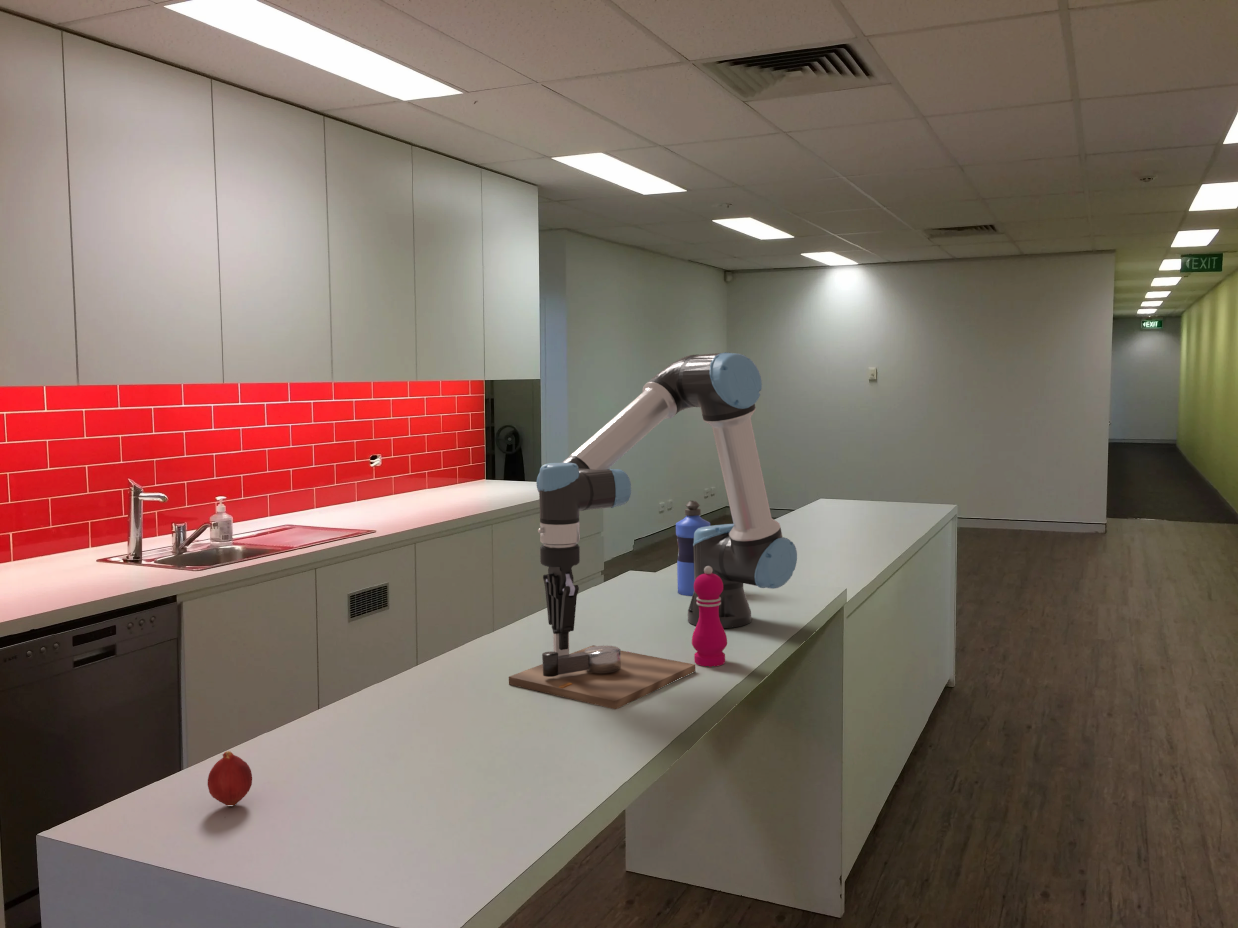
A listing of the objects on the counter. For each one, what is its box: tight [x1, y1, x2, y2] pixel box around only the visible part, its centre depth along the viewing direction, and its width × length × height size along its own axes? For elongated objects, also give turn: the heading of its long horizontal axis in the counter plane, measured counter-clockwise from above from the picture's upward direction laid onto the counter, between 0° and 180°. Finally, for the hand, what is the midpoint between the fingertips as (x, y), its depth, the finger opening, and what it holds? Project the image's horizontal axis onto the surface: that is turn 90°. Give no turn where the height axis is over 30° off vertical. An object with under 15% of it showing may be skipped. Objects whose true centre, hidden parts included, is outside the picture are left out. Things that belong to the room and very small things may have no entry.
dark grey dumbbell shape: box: [541, 645, 621, 677], centre depth 186 cm, size 16×7×4 cm, turn 116°
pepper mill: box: [691, 566, 728, 668], centre depth 197 cm, size 7×7×20 cm
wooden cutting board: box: [508, 645, 696, 710], centre depth 189 cm, size 26×26×2 cm
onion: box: [207, 750, 253, 806], centre depth 135 cm, size 6×6×8 cm
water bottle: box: [675, 500, 711, 597], centre depth 261 cm, size 9×9×25 cm
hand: (561, 664), depth 186 cm, fingers closed
